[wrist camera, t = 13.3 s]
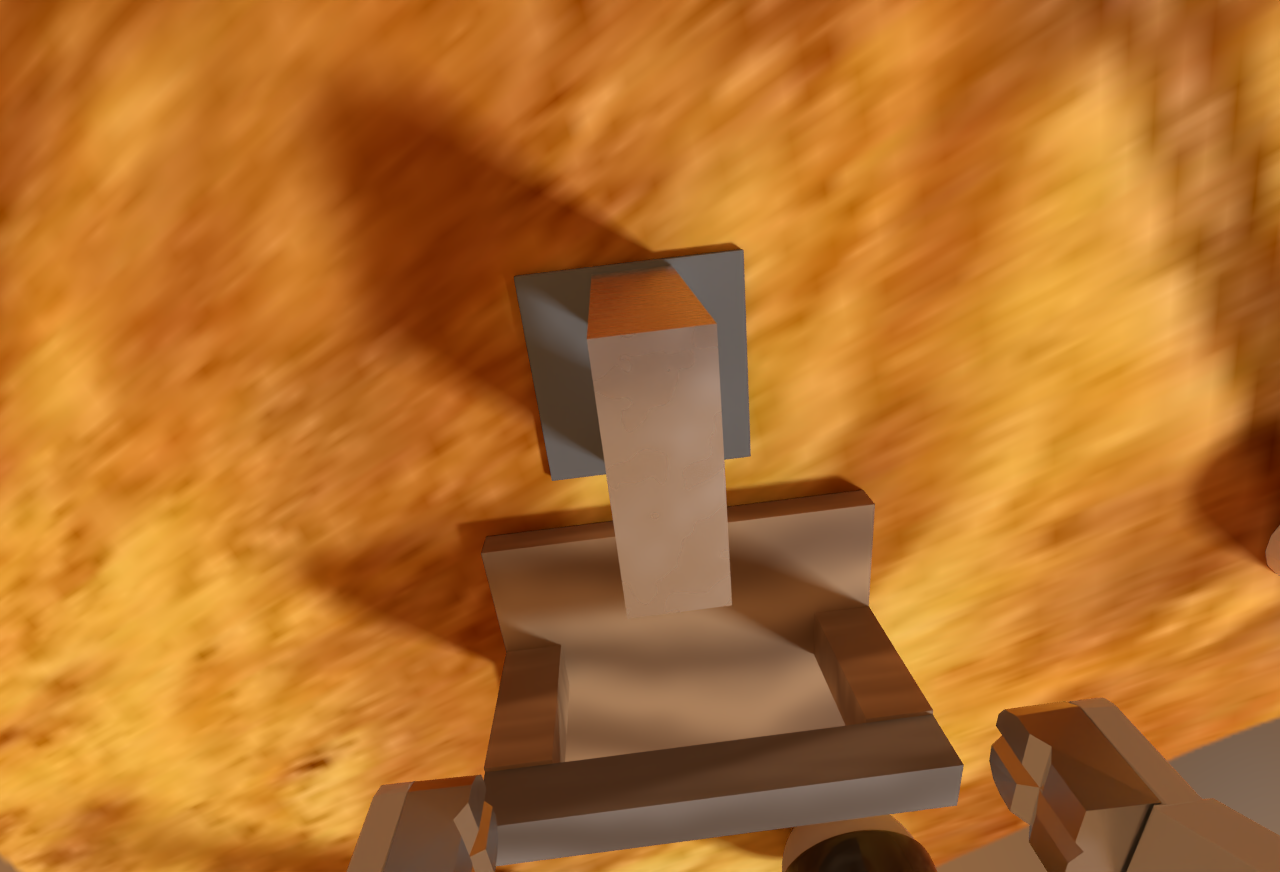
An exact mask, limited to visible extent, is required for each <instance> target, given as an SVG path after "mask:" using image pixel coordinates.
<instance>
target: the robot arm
mask: <svg viewBox="0 0 1280 872" xmlns="http://www.w3.org/2000/svg"><path fill="white" fill-rule="evenodd" d="M996 726H997V728H998V729H999V731H1000V732H1001V734H1002V736H1001V737H1000V738H999V739H998V740H997V741H996V742H995V743H994V744H993V745H992V747H991V753H990V760H989V761H990V765H991V770H992V775H993V779H994V781H995V784H996V786H997V788H998V791H999V793H1000V795H1001V797H1002V798H1003V800H1004V802H1005V803H1006V805H1007V807H1008V809H1009V810H1010V811H1011V812H1012V813H1013V814H1015V815H1016V816H1018V817H1019V818H1020V819H1022V820H1023V821H1025V822H1026V823H1028V824H1029V825H1030V827H1029V843H1030V844H1031V846H1032V848H1033V849H1034V851H1035V852H1036V854H1037V856H1038V857H1039V859H1040V861H1041V862H1042V864H1043V865H1044V867H1045V869H1046V870H1047V872H1280V836H1279V835H1277V834H1276V833H1274V832H1272V831H1270V830H1268V829H1267V828H1265V827H1263V826H1261V825H1260V824H1258V823H1256V822H1254V821H1252V820H1251V819H1249V818H1247V817H1245V816H1243V815H1242V814H1240V813H1238V812H1236V811H1235V810H1233V809H1231V808H1229V807H1227V806H1226V805H1224V804H1222V803H1220V802H1218V801H1217V800H1215V799H1202V798H1201V797H1200V796H1199V795H1198V794H1197V793H1196V792H1195V791H1194V790H1193V789H1192V787H1190V786H1189V784H1188V783H1187V782H1186V781H1185V780H1184V779H1183V778H1182V777H1181V776H1180V775H1179V773H1178V772H1177V771H1176V770H1175V769H1174V768H1173V767H1172V766H1171V765H1170V764H1169V763H1168V762H1167V761H1166V759H1165V758H1164V757H1163V756H1162V755H1161V754H1160V753H1159V752H1158V751H1157V750H1156V749H1155V748H1154V747H1153V745H1152V744H1151V743H1150V742H1149V741H1148V740H1147V739H1146V738H1145V737H1144V736H1143V735H1142V734H1141V733H1140V731H1139V730H1138V729H1137V728H1136V727H1135V726H1134V725H1133V724H1132V723H1131V722H1130V721H1129V720H1128V719H1127V717H1126V716H1125V715H1124V714H1123V713H1122V712H1121V711H1120V710H1119V709H1118V708H1117V707H1116V706H1115V705H1114V704H1113V703H1112V702H1110V701H1108V700H1107V699H1105V698H1091V699H1084V700H1077V701H1070V702H1066V701H1061V702H1054V703H1047V704H1040V705H1033V706H1026V707H1018V708H1011V709H1005V710H1003V711H1002V712H1001V713H1000V714H999V715H998V719H997V723H996ZM485 793H486V786H485V783H484V781H483V778H482V776H481V775H473V776H463V777H454V778H444V779H435V780H425V781H413V782H405V783H396V784H388V785H382V786H381V787H380V788H379V790H378V791H377V793H376V794H375V796H374V797H373V799H372V802H371V805H370V808H369V811H368V813H367V816H366V819H365V822H364V824H363V827H362V830H361V833H360V836H359V838H358V841H357V844H356V847H355V850H354V852H353V855H352V858H351V861H350V863H349V866H348V869H347V872H495V868H496V861H497V853H498V828H497V821H496V815H495V812H494V809H493V806H491V805H490V804H488V803H487V802H485V801H484V799H485Z"/></svg>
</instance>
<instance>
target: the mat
mask: <svg viewBox="0 0 1280 872" xmlns="http://www.w3.org/2000/svg"><path fill="white" fill-rule="evenodd" d="M667 265H672V266H673V267H674V269H675V270H676V271H677V273H678V274H679V275H680V276H681V278H682V279H683V280H684V282H685V283H686V284H687V286H688V287H689V288H690V289H691V291H692V292H693V293H694V295H695V296H696V297H697V299H698V300H699V301H700V302H701V304H702V305H703V306H704V308H705V309H706V310H707V311H708V313H709V314H710V315H711V317H712V318H713V319H714V321H715V322H716V323H717V336H718V354H719V373H720V391H721V410H722V428H723V447H724V460H725V459H733V458H741V457H749V456H751V455H750V426H749V397H748V368H747V339H746V310H745V281H744V252H743V250H742V249H737V250H729V251H721V252H712V253H704V254H695V255H687V256H678V257H670V258H661V259H653V260H645V261H636V262H628V263H619V264H611V265H602V266H594V267H586V268H577V269H569V270H560V271H552V272H543V273H535V274H526V275H518V276H514V281H515V286H516V292H517V297H518V302H519V308H520V313H521V318H522V324H523V329H524V334H525V340H526V345H527V350H528V356H529V361H530V366H531V371H532V377H533V382H534V387H535V393H536V398H537V403H538V409H539V414H540V419H541V425H542V430H543V435H544V441H545V446H546V451H547V457H548V462H549V467H550V472H551V478H552V481H554V480H563V479H571V478H579V477H587V476H595V475H603V474H606V468H605V462H604V455H603V448H602V441H601V434H600V427H599V420H598V413H597V406H596V400H595V393H594V386H593V379H592V372H591V365H590V358H589V351H588V344H587V329H588V316H589V302H590V289H591V276H592V274H600V273H608V272H616V271H625V270H633V269H642V268H650V267H659V266H667Z"/></svg>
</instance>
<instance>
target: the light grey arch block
mask: <svg viewBox="0 0 1280 872" xmlns="http://www.w3.org/2000/svg"><path fill="white" fill-rule="evenodd" d="M587 344H588V351H589V358H590V365H591V372H592V379H593V386H594V393H595V400H596V406H597V413H598V420H599V427H600V434H601V441H602V448H603V455H604V462H605V468H606V475H607V482H608V489H609V496H610V503H611V510H612V517H613V524H614V530H615V537H616V544H617V551H618V558H619V565H620V572H621V579H622V586H623V593H624V599H625V606H626V613H627V619H628V618H636V617H644V616H652V615H660V614H667V613H675V612H683V611H691V610H699V609H707V608H715V607H723V606H731V605H732V595H731V576H730V558H729V539H728V521H727V502H726V484H725V465H724V447H723V428H722V410H721V391H720V373H719V354H718V336H717V323H716V322H715V321H714V319H713V318H712V317H711V315H710V314H709V313H708V311H707V310H706V309H705V308H704V306H703V305H702V304H701V302H700V301H699V300H698V299H697V297H696V296H695V295H694V293H693V292H692V291H691V289H690V288H689V287H688V286H687V284H686V283H685V282H684V280H683V279H682V278H681V276H680V275H679V274H678V273H677V271H676V270H675V269H674V267H673V266H672V265H667V266H659V267H650V268H642V269H633V270H625V271H616V272H608V273H600V274H592V276H591V289H590V302H589V316H588V329H587Z"/></svg>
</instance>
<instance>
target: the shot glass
mask: <svg viewBox="0 0 1280 872" xmlns="http://www.w3.org/2000/svg"><path fill="white" fill-rule="evenodd" d="M1265 554H1266V560H1267V565H1268V566H1269V567H1270V568H1271V569H1272V570H1273V571H1274V572H1275V573H1276V574H1277V575H1279V576H1280V525H1279V526H1278V528H1277V529H1276V530H1275V532H1274V533H1273V534H1272V535H1271V537H1270V540H1269V543H1268V546H1267V548H1266V551H1265Z"/></svg>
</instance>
